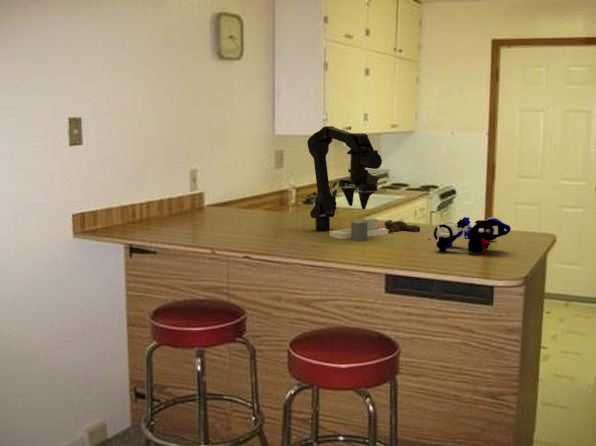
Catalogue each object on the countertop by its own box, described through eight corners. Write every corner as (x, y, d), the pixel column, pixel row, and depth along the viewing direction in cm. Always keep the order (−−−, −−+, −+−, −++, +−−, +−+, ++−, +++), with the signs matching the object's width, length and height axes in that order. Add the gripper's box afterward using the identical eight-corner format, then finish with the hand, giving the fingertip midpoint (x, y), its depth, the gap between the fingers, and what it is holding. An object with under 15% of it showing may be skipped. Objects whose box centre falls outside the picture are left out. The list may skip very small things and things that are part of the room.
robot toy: (442, 214, 252) (513, 216, 241) (442, 246, 254) (512, 249, 243) (431, 220, 238) (505, 222, 227) (431, 254, 240) (505, 257, 229)
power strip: (340, 241, 262) (340, 232, 261) (329, 238, 269) (329, 229, 268) (387, 236, 272) (387, 227, 271) (376, 233, 279) (376, 224, 278)
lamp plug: (361, 233, 273) (361, 218, 272) (370, 232, 275) (371, 217, 275) (367, 235, 270) (368, 220, 269) (377, 234, 272) (377, 219, 271)
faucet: (424, 232, 280) (405, 242, 269) (388, 227, 291) (368, 236, 280) (424, 221, 279) (405, 231, 268) (388, 216, 289) (368, 224, 278)
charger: (351, 240, 262) (351, 221, 261) (360, 239, 264) (361, 220, 263) (357, 242, 258) (357, 222, 257) (367, 241, 260) (367, 221, 259)
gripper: (389, 168, 257) (388, 209, 259) (362, 164, 273) (361, 203, 276) (364, 169, 252) (363, 211, 254) (338, 165, 268) (337, 204, 271)
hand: (357, 207), depth 264 cm, fingers open, 9 cm apart
